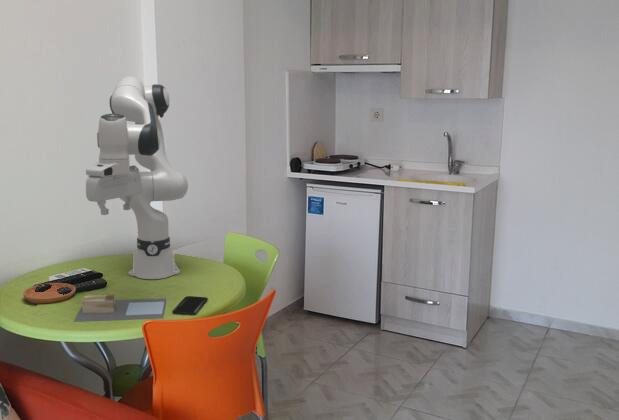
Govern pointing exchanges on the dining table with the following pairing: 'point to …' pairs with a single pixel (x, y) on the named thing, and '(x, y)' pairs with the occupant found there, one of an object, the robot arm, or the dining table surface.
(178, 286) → the dining table surface
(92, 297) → the card box
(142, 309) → the mat
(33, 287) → the saucer
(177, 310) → the phone
